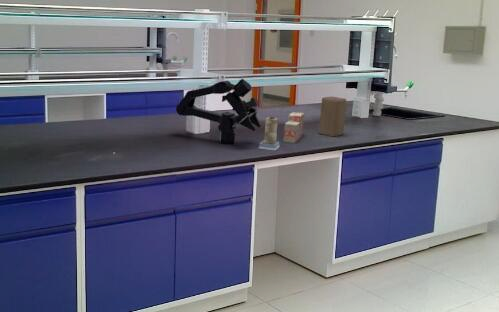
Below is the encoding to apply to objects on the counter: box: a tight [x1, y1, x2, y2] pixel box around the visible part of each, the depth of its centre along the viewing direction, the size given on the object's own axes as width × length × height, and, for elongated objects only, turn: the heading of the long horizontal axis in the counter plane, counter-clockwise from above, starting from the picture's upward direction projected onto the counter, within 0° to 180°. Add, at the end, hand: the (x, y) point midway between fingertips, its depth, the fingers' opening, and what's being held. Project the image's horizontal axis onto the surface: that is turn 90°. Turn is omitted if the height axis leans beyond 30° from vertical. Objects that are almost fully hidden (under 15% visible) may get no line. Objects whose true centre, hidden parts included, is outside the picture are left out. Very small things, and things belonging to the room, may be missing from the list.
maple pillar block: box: [263, 115, 279, 145], centre depth 265 cm, size 4×4×14 cm
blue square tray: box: [258, 140, 280, 151], centre depth 266 cm, size 8×8×2 cm
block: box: [318, 96, 347, 138], centre depth 304 cm, size 10×10×20 cm
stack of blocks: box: [282, 111, 305, 144], centre depth 289 cm, size 21×6×12 cm, turn 166°
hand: (257, 128), depth 266 cm, fingers open, 9 cm apart
